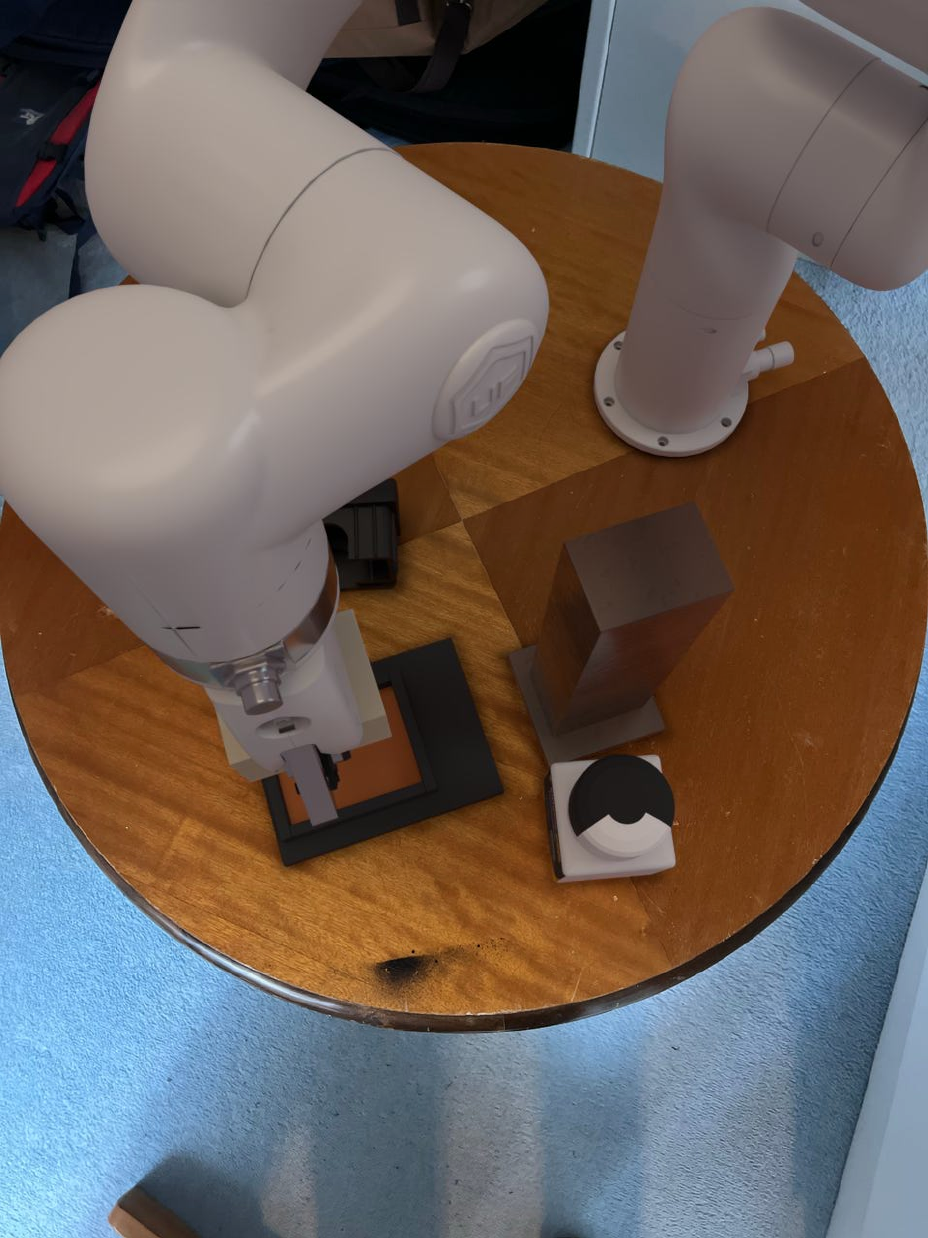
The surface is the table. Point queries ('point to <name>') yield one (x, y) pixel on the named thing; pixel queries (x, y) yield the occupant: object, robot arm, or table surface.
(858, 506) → the table surface
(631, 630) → the brown pillar on base
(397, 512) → the end cap
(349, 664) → the beige box
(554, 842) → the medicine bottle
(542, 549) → the table surface
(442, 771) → the back plate
